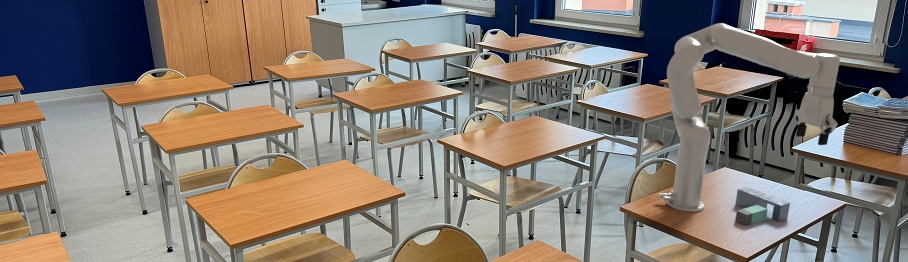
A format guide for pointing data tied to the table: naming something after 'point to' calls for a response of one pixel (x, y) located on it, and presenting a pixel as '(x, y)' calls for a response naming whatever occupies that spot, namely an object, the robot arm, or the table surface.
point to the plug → (751, 215)
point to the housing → (762, 202)
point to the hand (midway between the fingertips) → (811, 140)
